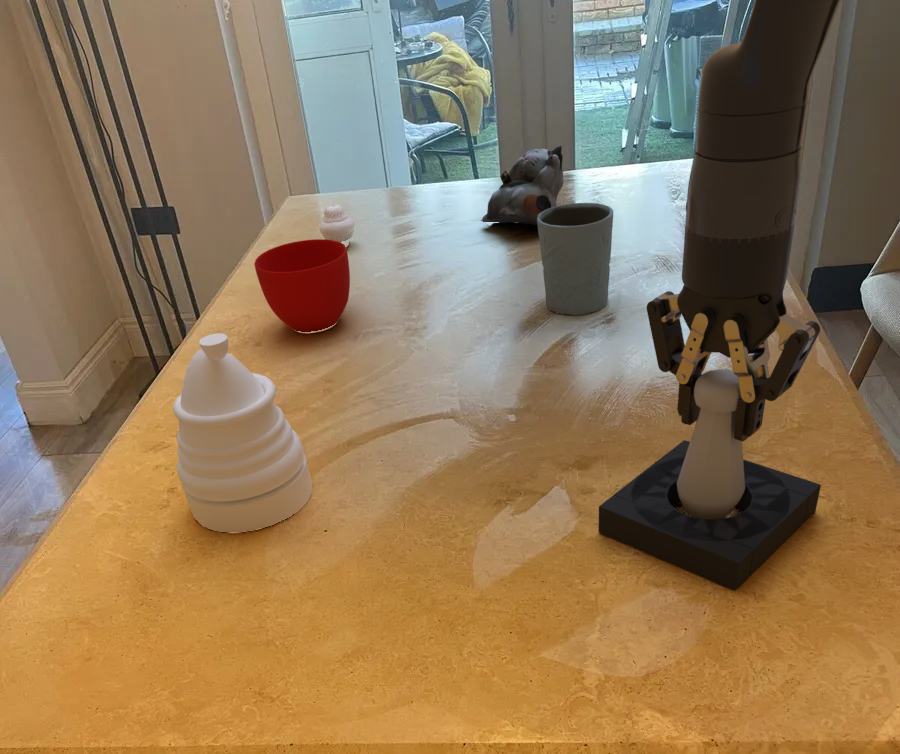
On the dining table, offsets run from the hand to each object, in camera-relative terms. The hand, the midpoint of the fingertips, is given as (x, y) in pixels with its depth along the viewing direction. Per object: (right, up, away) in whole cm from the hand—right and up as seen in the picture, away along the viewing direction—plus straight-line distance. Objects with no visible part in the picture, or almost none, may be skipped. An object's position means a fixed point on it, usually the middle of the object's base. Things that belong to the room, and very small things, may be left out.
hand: (717, 427), depth 72 cm
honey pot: (-43, -4, +18) cm, 47 cm away
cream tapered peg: (+1, -6, +5) cm, 8 cm away
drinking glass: (-5, +27, +48) cm, 56 cm away
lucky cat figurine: (-10, +51, +76) cm, 92 cm away
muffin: (-42, +48, +78) cm, 101 cm away
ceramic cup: (-41, +27, +53) cm, 73 cm away
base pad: (+1, -7, +6) cm, 10 cm away
